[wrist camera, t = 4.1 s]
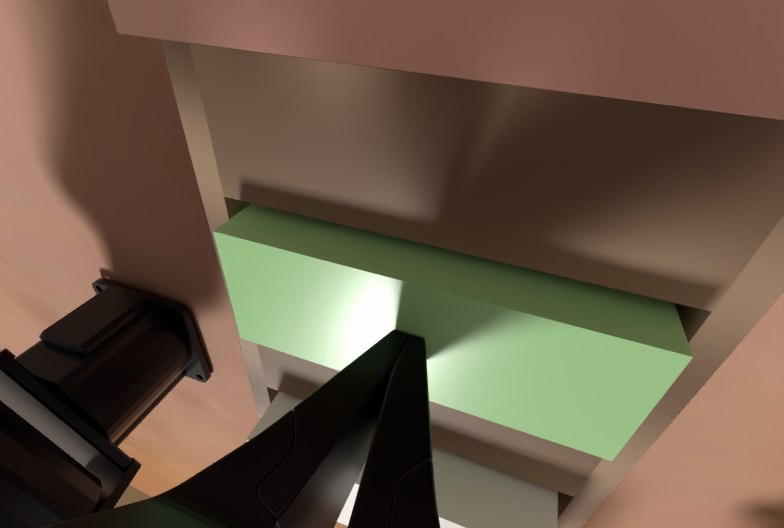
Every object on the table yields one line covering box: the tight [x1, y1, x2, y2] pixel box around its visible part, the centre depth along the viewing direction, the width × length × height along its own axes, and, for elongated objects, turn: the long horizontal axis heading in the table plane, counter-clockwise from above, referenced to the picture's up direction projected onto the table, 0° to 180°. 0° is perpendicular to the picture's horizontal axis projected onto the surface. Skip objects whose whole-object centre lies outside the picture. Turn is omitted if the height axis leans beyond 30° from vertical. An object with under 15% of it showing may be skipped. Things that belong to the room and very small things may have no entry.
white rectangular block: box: [246, 391, 558, 528], centre depth 16 cm, size 4×11×4 cm, turn 87°
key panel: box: [160, 39, 784, 528], centre depth 12 cm, size 23×13×4 cm, turn 177°
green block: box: [213, 203, 693, 461], centre depth 12 cm, size 4×11×4 cm, turn 87°
